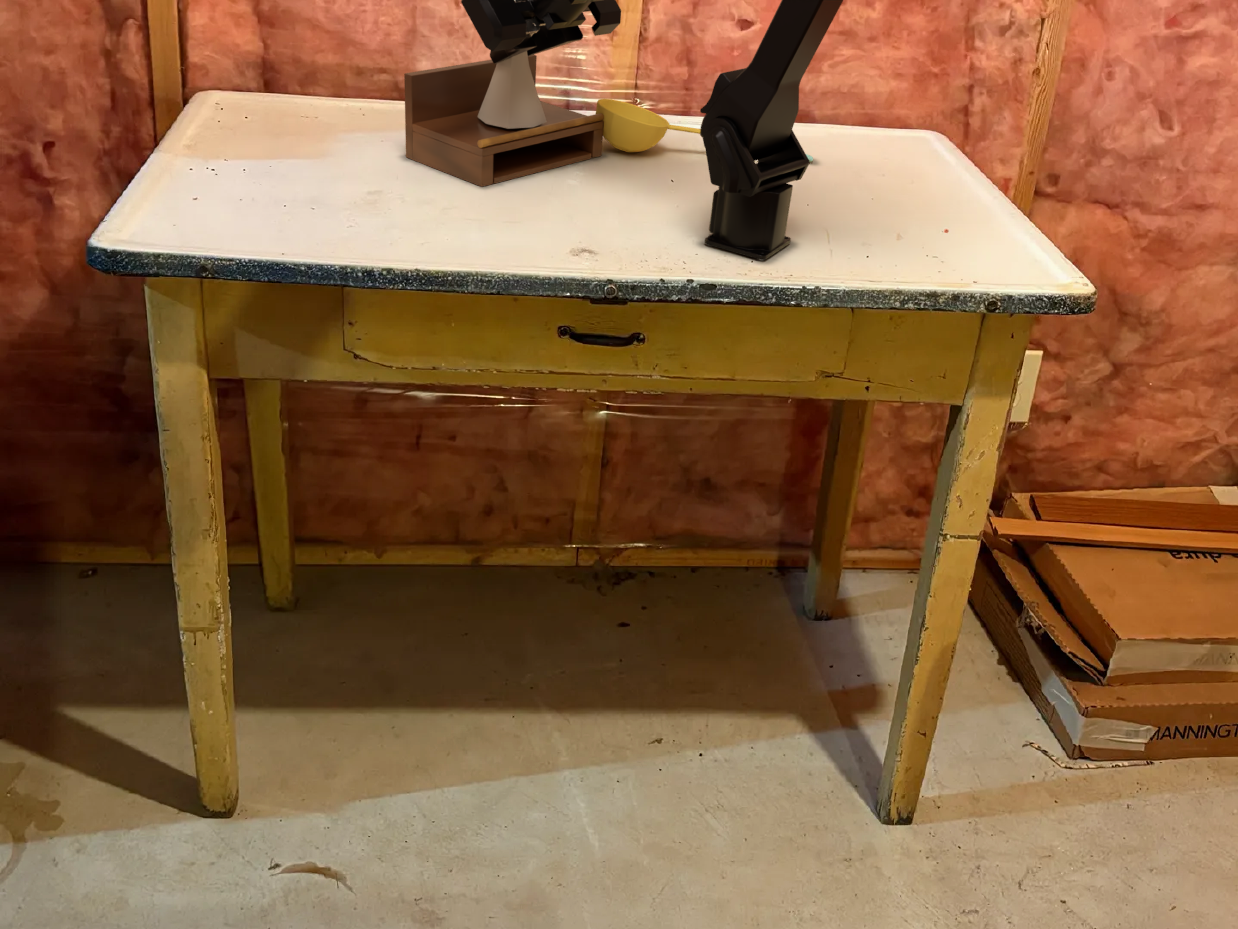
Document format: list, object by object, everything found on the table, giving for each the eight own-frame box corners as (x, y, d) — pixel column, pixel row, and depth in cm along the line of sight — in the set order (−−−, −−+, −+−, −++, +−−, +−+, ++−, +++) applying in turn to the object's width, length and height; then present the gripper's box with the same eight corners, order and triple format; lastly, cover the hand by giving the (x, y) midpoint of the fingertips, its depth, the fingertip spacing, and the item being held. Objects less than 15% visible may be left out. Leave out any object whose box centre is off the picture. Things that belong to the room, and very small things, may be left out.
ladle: (585, 129, 137) (598, 82, 135) (788, 190, 142) (806, 145, 140) (587, 148, 130) (602, 98, 127) (802, 212, 135) (821, 165, 132)
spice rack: (601, 155, 132) (607, 75, 127) (481, 186, 119) (483, 99, 115) (526, 130, 138) (529, 52, 134) (405, 157, 126) (403, 73, 121)
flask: (506, 134, 122) (508, 35, 117) (465, 118, 126) (465, 22, 121) (558, 125, 126) (562, 30, 121) (516, 110, 131) (518, 17, 126)
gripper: (608, -110, 118) (529, -15, 130) (475, -107, 106) (400, -1, 117) (660, -16, 118) (576, 71, 130) (532, -1, 106) (452, 94, 117)
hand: (504, 57), depth 124 cm, fingers closed on flask, 3 cm apart
